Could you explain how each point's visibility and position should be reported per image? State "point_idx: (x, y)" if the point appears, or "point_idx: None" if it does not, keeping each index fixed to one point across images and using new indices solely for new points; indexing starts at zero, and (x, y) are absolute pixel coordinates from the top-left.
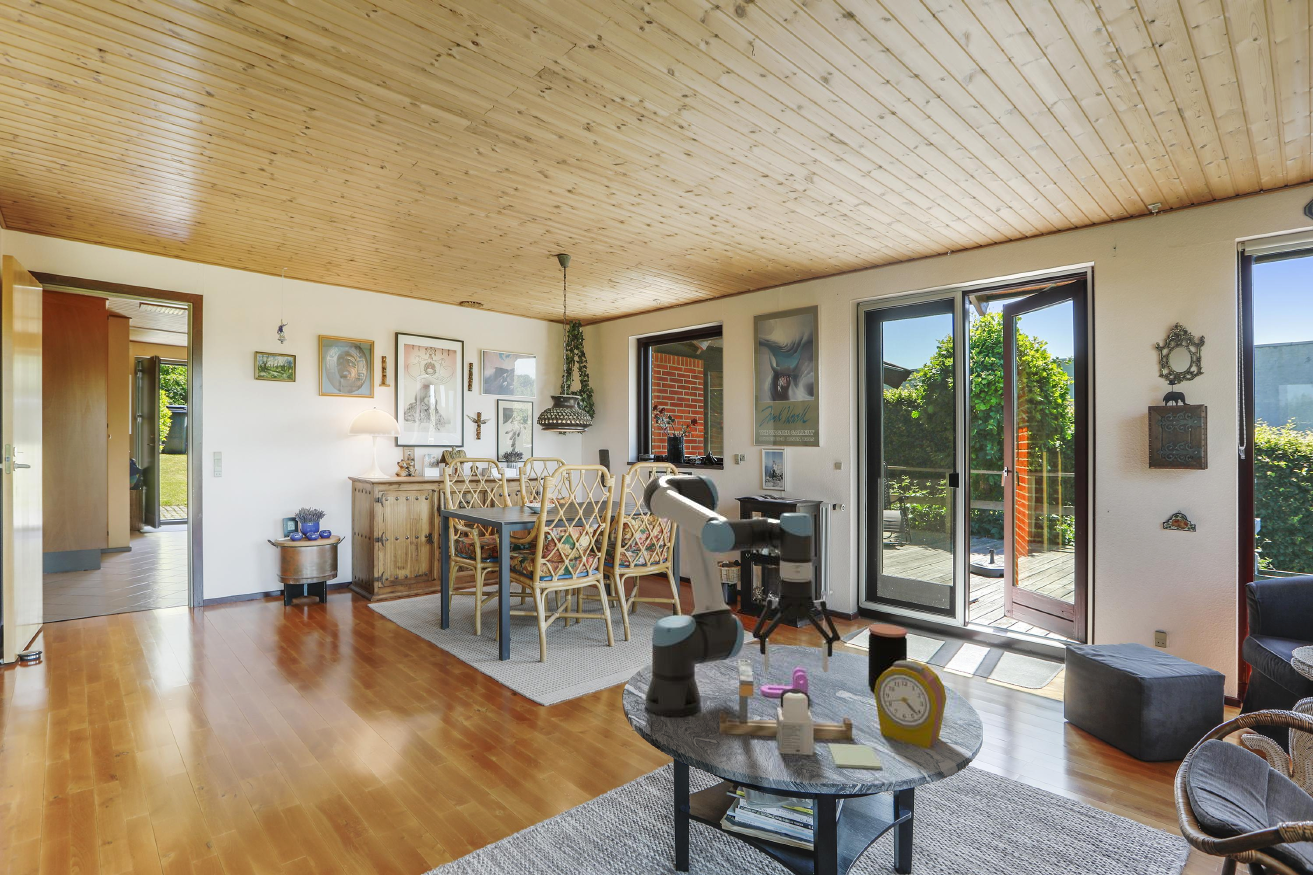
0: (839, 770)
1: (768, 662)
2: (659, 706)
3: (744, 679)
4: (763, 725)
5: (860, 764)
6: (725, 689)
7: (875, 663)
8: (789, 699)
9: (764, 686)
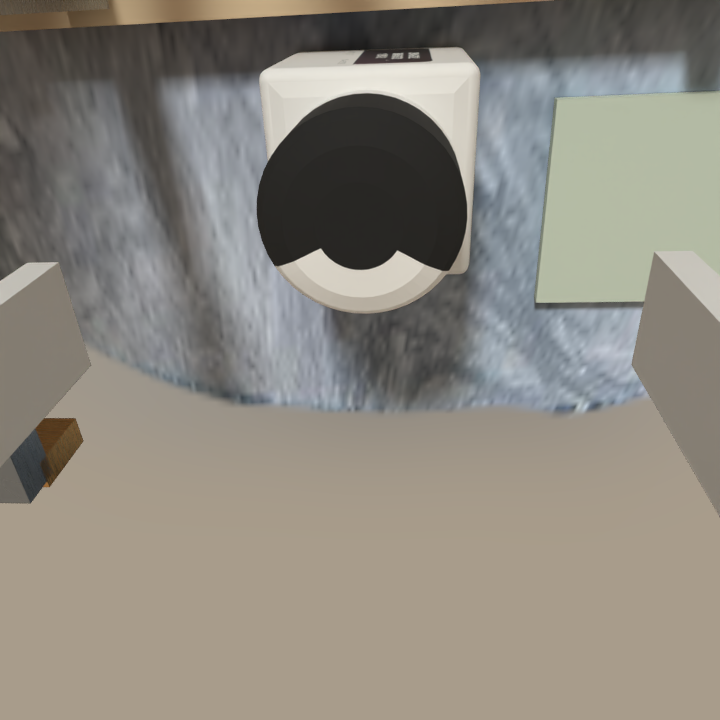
0: (539, 325)
1: (53, 405)
2: None
3: None
4: (207, 18)
5: (642, 295)
6: None
7: None
8: (318, 302)
9: None
